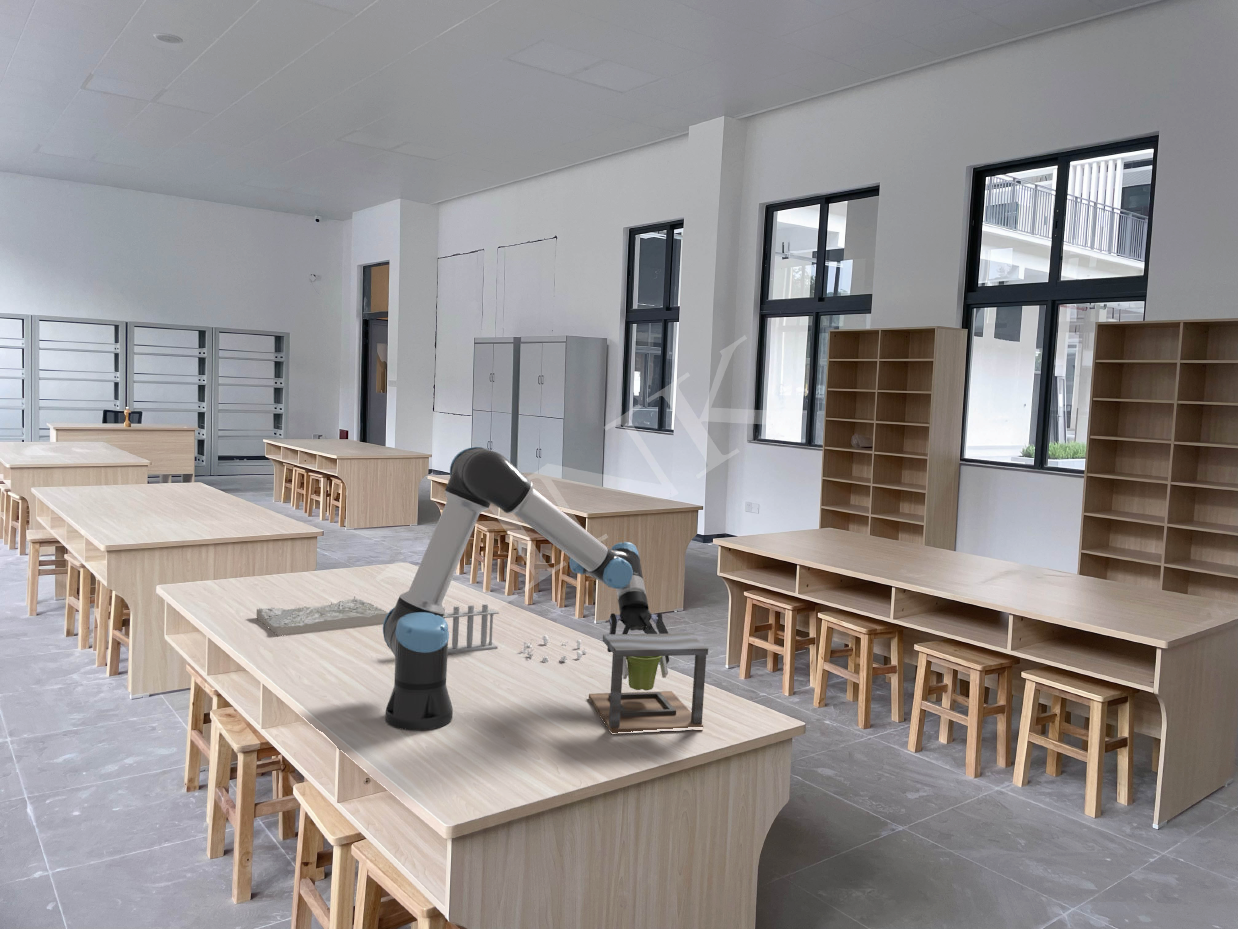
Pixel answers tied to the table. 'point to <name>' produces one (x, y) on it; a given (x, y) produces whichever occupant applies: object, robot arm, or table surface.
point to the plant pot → (642, 671)
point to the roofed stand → (650, 706)
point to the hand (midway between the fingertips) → (645, 675)
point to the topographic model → (322, 617)
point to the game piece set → (563, 658)
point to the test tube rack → (471, 629)
